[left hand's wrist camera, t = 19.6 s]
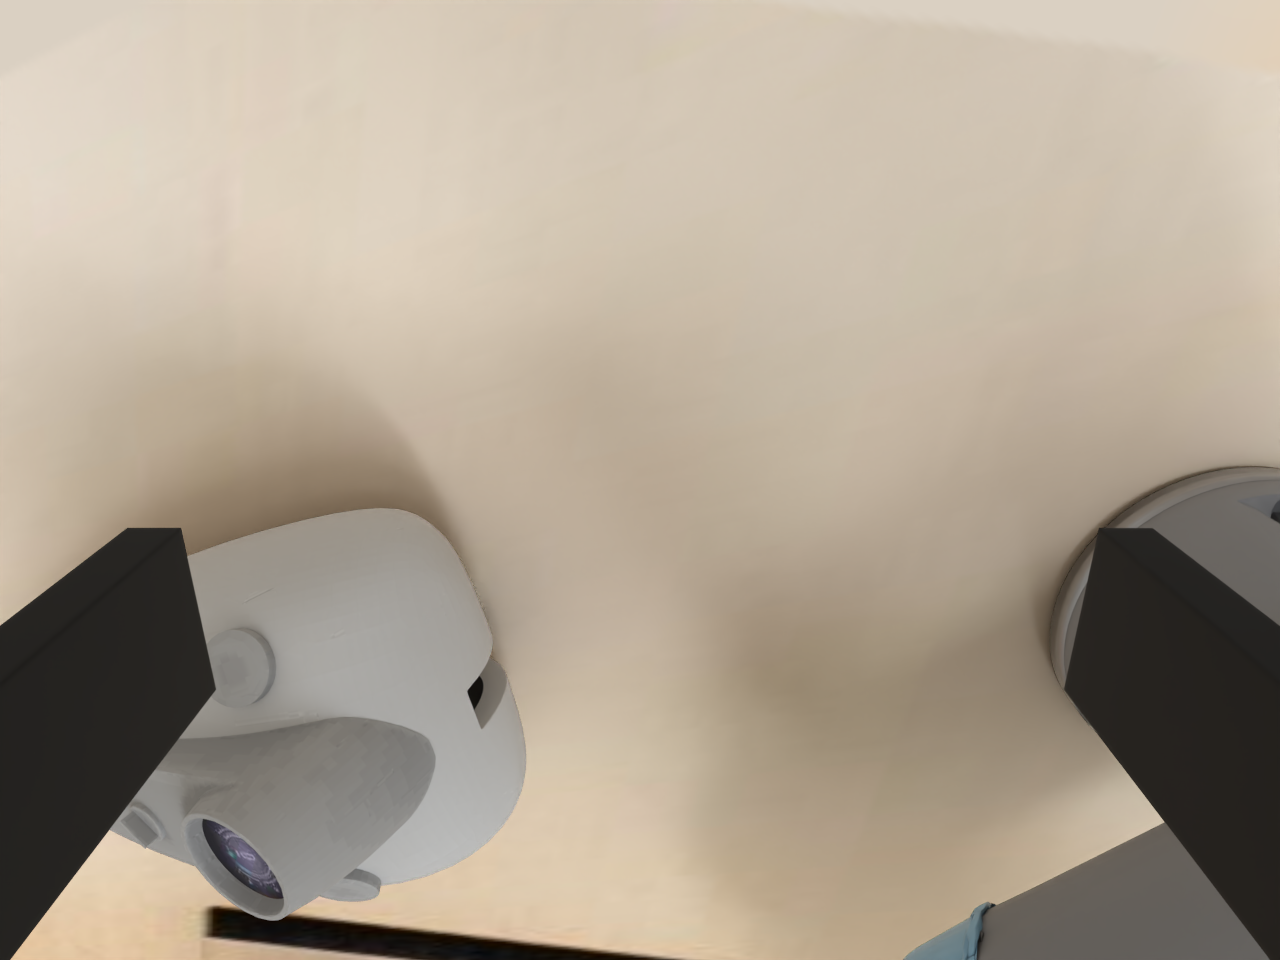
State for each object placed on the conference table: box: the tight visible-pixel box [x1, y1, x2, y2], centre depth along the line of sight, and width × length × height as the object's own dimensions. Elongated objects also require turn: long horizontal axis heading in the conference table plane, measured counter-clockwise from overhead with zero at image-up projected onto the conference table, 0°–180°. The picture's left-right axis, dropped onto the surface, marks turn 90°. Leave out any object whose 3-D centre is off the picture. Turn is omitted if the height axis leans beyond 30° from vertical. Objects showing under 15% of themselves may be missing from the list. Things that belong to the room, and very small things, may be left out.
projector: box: [109, 508, 526, 920], centre depth 35 cm, size 22×23×15 cm
